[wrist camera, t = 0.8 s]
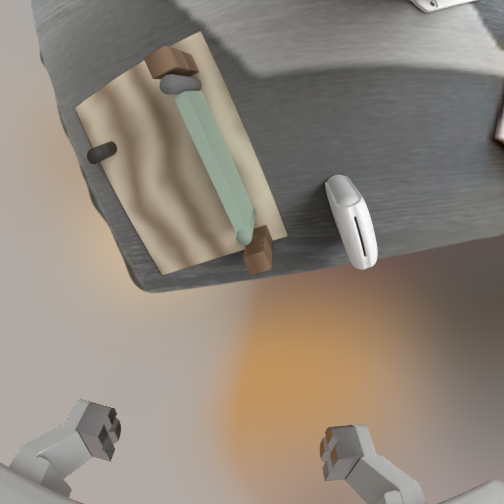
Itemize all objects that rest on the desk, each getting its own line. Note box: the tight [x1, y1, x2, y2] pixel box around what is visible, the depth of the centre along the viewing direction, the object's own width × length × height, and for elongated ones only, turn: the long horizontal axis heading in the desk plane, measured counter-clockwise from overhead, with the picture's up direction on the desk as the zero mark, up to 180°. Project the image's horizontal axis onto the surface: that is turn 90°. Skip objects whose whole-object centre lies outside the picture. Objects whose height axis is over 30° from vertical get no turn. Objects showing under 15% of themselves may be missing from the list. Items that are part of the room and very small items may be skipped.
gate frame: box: [75, 32, 288, 275], centre depth 39 cm, size 24×34×11 cm
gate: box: [160, 74, 256, 245], centre depth 37 cm, size 23×2×10 cm, turn 22°
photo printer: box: [325, 175, 377, 270], centre depth 40 cm, size 10×4×12 cm, turn 23°
